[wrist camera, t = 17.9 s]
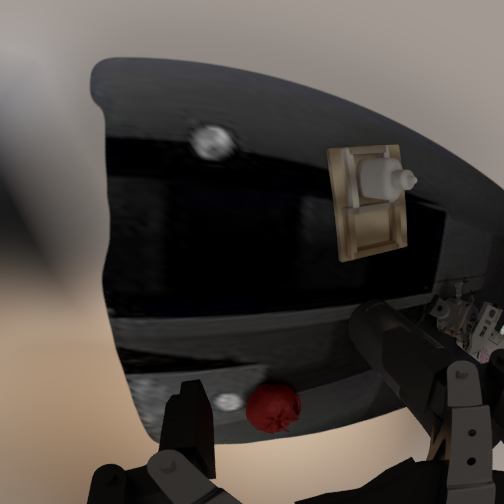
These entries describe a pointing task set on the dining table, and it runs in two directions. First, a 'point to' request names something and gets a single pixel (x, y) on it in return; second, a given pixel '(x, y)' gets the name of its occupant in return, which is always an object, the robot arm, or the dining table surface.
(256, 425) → the pomegranate
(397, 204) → the wooden compartment tray
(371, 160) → the eye dropper bottle
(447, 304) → the figurine
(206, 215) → the dining table surface
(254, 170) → the dining table surface
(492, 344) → the supplement can
